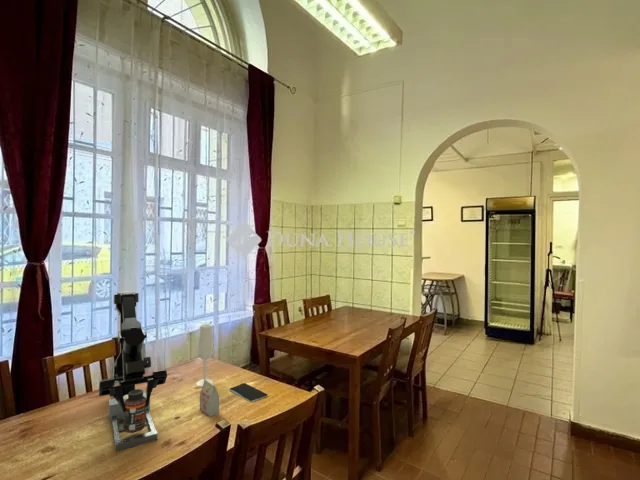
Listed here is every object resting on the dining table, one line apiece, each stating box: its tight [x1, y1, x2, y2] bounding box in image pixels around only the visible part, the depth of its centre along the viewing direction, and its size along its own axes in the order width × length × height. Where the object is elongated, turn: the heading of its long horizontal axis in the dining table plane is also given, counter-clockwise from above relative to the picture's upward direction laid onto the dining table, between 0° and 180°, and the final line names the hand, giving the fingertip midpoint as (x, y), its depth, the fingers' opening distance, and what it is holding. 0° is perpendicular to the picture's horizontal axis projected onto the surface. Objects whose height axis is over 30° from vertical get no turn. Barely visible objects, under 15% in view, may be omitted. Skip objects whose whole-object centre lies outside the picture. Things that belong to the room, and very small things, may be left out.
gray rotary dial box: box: [108, 391, 151, 422], centre depth 121 cm, size 5×12×6 cm, turn 123°
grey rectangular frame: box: [111, 408, 159, 452], centre depth 110 cm, size 20×11×2 cm, turn 34°
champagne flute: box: [195, 323, 214, 387], centre depth 147 cm, size 7×7×24 cm
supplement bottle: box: [123, 388, 147, 434], centre depth 108 cm, size 6×6×11 cm
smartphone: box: [229, 382, 268, 403], centre depth 138 cm, size 8×1×15 cm
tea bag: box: [199, 380, 220, 417], centre depth 123 cm, size 4×7×10 cm, turn 45°
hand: (135, 409), depth 106 cm, fingers closed on supplement bottle, 6 cm apart
